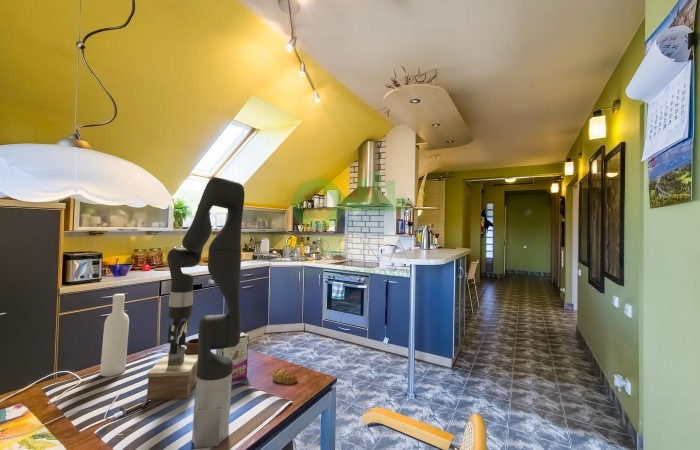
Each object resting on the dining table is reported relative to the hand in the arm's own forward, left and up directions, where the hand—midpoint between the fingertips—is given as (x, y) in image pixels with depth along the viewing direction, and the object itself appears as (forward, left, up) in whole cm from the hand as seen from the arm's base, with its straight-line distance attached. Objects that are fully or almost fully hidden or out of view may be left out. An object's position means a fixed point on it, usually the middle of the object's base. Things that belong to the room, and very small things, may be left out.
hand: (177, 349), depth 108 cm
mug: (+23, +1, -14) cm, 27 cm away
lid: (0, 0, -6) cm, 6 cm away
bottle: (+17, +27, -14) cm, 35 cm away
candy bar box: (+6, -18, -14) cm, 24 cm away
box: (0, 0, -14) cm, 14 cm away
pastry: (+3, -38, -15) cm, 41 cm away
